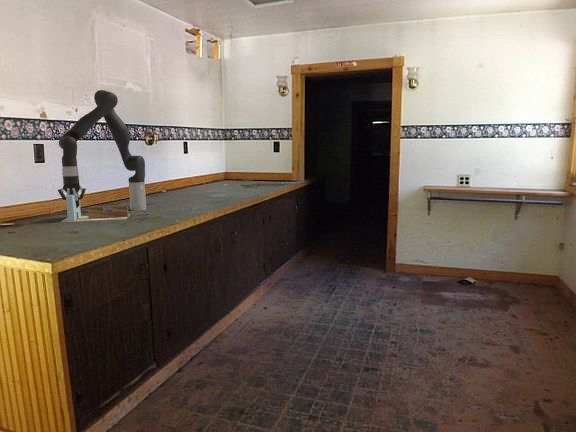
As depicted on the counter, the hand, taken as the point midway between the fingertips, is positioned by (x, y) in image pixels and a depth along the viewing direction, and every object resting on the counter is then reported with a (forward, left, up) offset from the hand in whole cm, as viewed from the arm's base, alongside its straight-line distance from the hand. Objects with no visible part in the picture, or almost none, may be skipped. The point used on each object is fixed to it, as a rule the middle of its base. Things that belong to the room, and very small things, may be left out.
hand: (73, 207), depth 228 cm
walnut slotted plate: (0, +17, -6) cm, 18 cm away
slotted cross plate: (0, 0, -6) cm, 6 cm away
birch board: (0, +11, -7) cm, 13 cm away
